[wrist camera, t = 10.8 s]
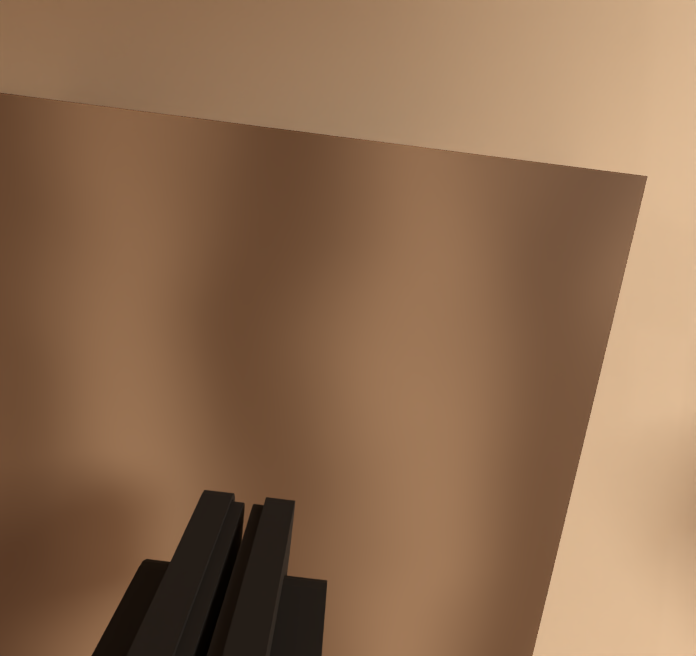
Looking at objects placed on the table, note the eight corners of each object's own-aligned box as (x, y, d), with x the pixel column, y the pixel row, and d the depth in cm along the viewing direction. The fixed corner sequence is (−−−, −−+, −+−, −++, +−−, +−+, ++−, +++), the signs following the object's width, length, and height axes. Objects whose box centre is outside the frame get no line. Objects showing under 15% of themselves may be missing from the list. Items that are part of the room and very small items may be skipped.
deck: (577, 174, 16) (647, 176, 13) (463, 710, 21) (489, 832, 17) (53, 106, 16) (-41, 87, 12) (53, 669, 21) (-15, 785, 17)
